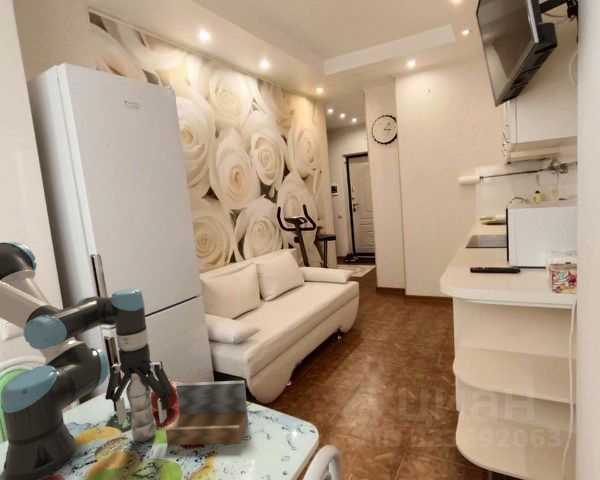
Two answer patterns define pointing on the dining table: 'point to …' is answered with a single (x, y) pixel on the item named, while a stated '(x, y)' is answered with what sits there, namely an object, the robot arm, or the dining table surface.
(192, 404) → the brown wooden box
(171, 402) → the fruit
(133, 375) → the silver metal bottle
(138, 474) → the dining table surface
